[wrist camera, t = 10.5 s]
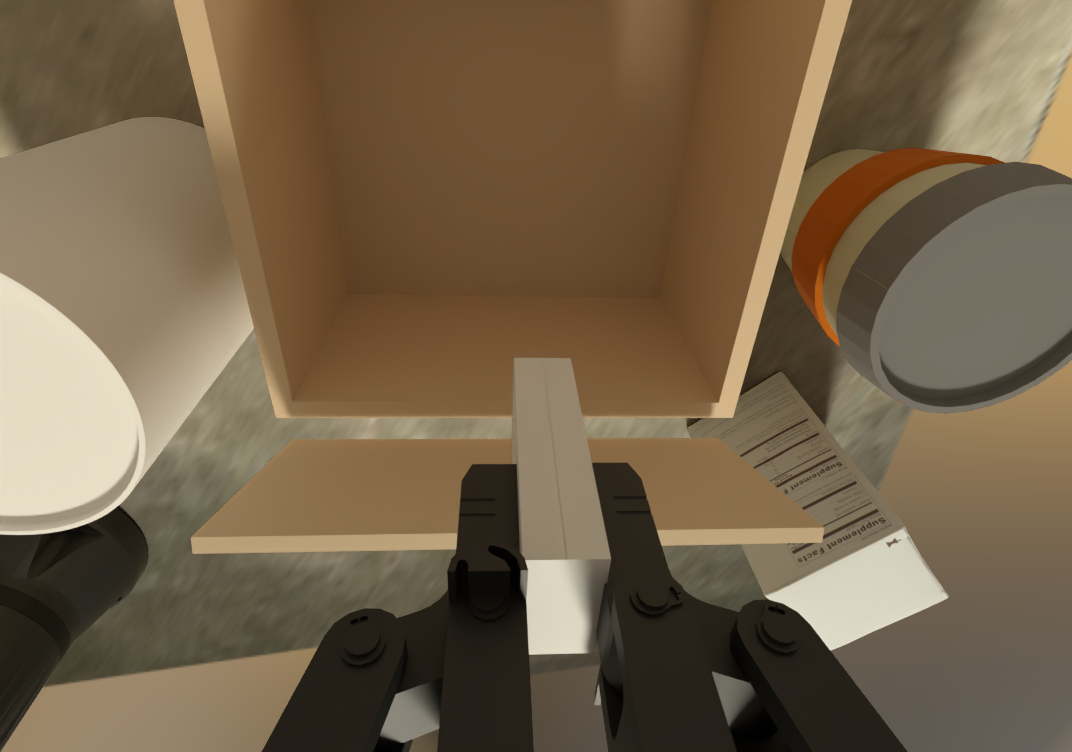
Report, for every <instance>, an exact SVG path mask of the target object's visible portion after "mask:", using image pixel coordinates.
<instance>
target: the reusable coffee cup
mask: <svg viewBox="0 0 1072 752" xmlns="http://www.w3.org/2000/svg"><path fill="white" fill-rule="evenodd" d="M780 254H781V256H782V258H783V260H784V261H785V262H786V264H787V265H788V267H789V268H790V270H791V271H792V275H793V279H794V282H795V286H796V288H797V290H798V292H799V293H800V295H801V297H802V299H803V300H804V302H805V303H806V305H807V306H808V307H809V309H810V310H811V312H812V313H813V315H814V316H815V318H816V319H817V321H818V322H819V324H820V325H821V327H822V328H823V330H824V331H825V332H826V334H827V335H828V336H829V337H830V338H831V339H832V340H833V341H834V342H835V343H836V344H837V345H838V346H840V348H841V350H842V352H843V354H844V355H845V357H846V359H847V361H848V362H849V364H850V365H851V366H852V367H853V368H854V369H855V370H856V371H857V372H858V373H859V374H861V375H862V376H863V377H865V378H866V379H867V380H869V381H870V382H871V383H873V384H874V385H875V386H877V387H878V388H879V389H881V390H882V391H883V392H885V393H886V394H887V395H889V396H890V397H892V398H893V399H894V400H896V401H898V402H900V403H902V404H904V405H905V406H907V407H910V408H913V409H917V410H921V411H925V412H933V413H934V412H935V413H955V412H966V411H971V410H975V409H980V408H983V407H988V406H991V405H994V404H997V403H999V402H1002V401H1005V400H1007V399H1010V398H1012V397H1015V396H1017V395H1019V394H1021V393H1023V392H1024V391H1026V390H1028V389H1030V388H1032V387H1034V386H1036V385H1038V384H1039V383H1041V382H1042V381H1043V380H1045V379H1047V378H1048V377H1050V376H1051V375H1053V374H1054V373H1056V372H1057V371H1059V370H1060V369H1061V368H1062V367H1064V366H1065V365H1066V364H1067V363H1068V362H1070V361H1071V360H1072V179H1071V178H1069V177H1067V176H1065V175H1063V174H1061V173H1058V172H1056V171H1053V170H1051V169H1048V168H1046V167H1044V166H1041V165H1036V164H1028V163H1021V162H1010V163H1004V162H1002V161H999V160H997V159H994V158H992V157H988V156H980V155H972V154H964V153H955V152H946V151H937V150H928V149H920V148H906V149H895V150H891V151H888V152H882V151H874V150H866V149H851V150H844V151H841V152H838V153H834V154H832V155H830V156H828V157H826V158H823V159H821V160H820V161H818V162H817V163H815V164H814V165H812V166H811V167H810V168H808V169H807V170H806V171H805V172H804V173H803V174H802V178H801V181H800V185H799V188H798V192H797V195H796V199H795V202H794V206H793V209H792V213H791V216H790V220H789V223H788V227H787V230H786V234H785V237H784V241H783V244H782V248H781V251H780Z"/></svg>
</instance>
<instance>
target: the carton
mask: <svg viewBox="0 0 1072 752" xmlns="http://www.w3.org/2000/svg"><path fill="white" fill-rule="evenodd" d="M173 1H174V5H175V9H176V13H177V17H178V21H179V25H180V29H181V33H182V37H183V41H184V45H185V49H186V54H187V58H188V62H189V66H190V70H191V74H192V78H193V82H194V86H195V90H196V94H197V98H198V102H199V106H200V110H201V115H202V119H203V123H204V127H205V131H206V135H207V139H208V143H209V147H210V151H211V155H212V159H213V163H214V167H215V172H216V176H217V180H218V184H219V188H220V192H221V196H222V200H223V204H224V208H225V212H226V216H227V220H228V224H229V228H230V233H231V237H232V241H233V245H234V249H235V253H236V257H237V261H238V265H239V269H240V273H241V277H242V281H243V285H244V290H245V294H246V298H247V302H248V306H249V310H250V314H251V318H252V322H253V326H254V330H255V334H256V338H257V342H258V346H259V351H260V355H261V359H262V363H263V367H264V371H265V375H266V379H267V383H268V387H269V391H270V395H271V399H272V403H273V408H274V412H275V416H276V418H512V409H513V375H514V358H571V363H572V368H573V373H574V378H575V383H576V387H577V392H578V397H579V402H580V407H581V412H582V417H583V418H733V416H734V412H735V409H736V405H737V402H738V398H739V395H740V391H741V388H742V384H743V381H744V377H745V374H746V370H747V367H748V363H749V360H750V356H751V353H752V349H753V346H754V342H755V339H756V335H757V332H758V328H759V325H760V321H761V318H762V314H763V311H764V307H765V304H766V300H767V297H768V293H769V290H770V286H771V283H772V279H773V276H774V272H775V269H776V265H777V262H778V258H779V255H780V251H781V248H782V244H783V241H784V237H785V234H786V230H787V227H788V223H789V220H790V216H791V213H792V209H793V206H794V202H795V199H796V195H797V192H798V188H799V185H800V181H801V178H802V174H803V171H804V167H805V164H806V160H807V157H808V153H809V150H810V147H811V143H812V140H813V136H814V133H815V129H816V126H817V122H818V119H819V115H820V112H821V108H822V105H823V101H824V98H825V94H826V91H827V87H828V84H829V80H830V77H831V73H832V70H833V66H834V63H835V59H836V56H837V52H838V49H839V45H840V42H841V38H842V35H843V31H844V28H845V24H846V21H847V17H848V14H849V10H850V7H851V3H852V0H173Z"/></svg>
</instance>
